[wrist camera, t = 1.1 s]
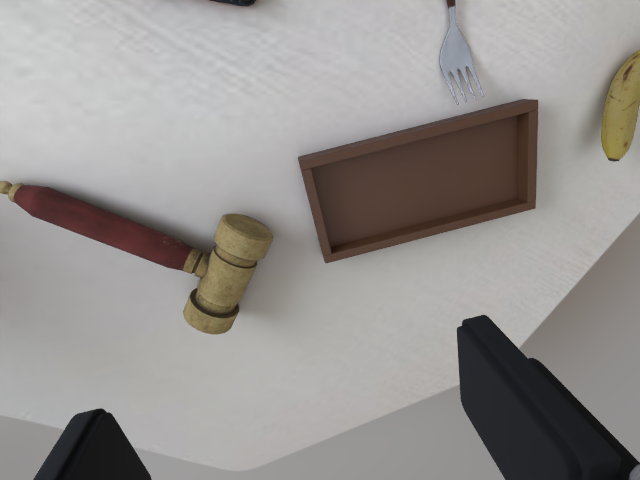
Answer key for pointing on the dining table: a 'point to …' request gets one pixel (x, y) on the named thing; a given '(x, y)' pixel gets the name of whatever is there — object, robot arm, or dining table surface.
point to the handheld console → (238, 2)
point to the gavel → (164, 249)
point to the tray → (423, 180)
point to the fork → (456, 56)
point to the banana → (621, 109)
